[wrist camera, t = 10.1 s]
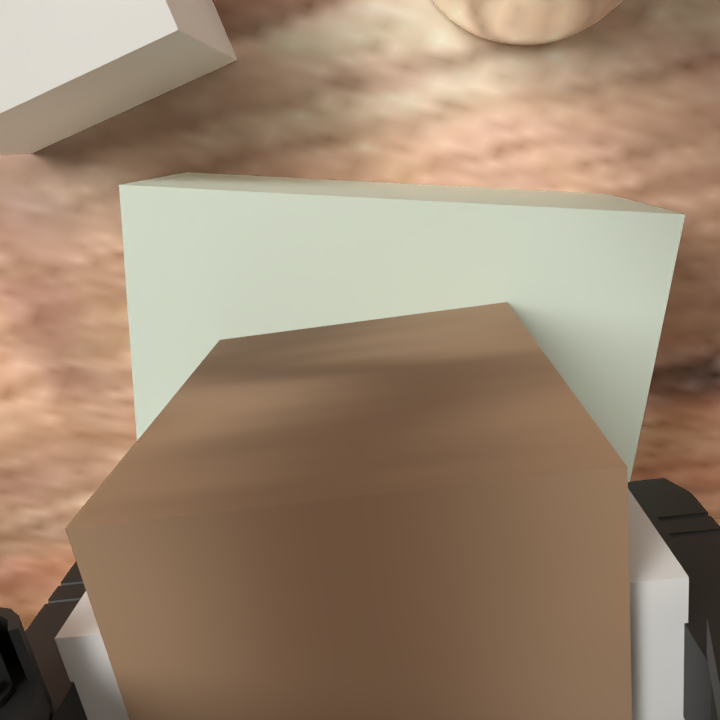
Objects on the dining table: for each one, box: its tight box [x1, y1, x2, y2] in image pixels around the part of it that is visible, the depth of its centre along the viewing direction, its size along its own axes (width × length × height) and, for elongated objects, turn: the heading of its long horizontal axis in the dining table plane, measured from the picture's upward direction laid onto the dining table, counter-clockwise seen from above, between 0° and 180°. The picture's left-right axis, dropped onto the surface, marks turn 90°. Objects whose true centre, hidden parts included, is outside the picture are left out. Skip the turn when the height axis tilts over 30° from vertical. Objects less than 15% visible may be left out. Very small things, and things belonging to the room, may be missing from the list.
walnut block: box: [65, 302, 632, 720], centre depth 11 cm, size 6×6×7 cm
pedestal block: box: [119, 172, 685, 482], centre depth 17 cm, size 11×11×5 cm
